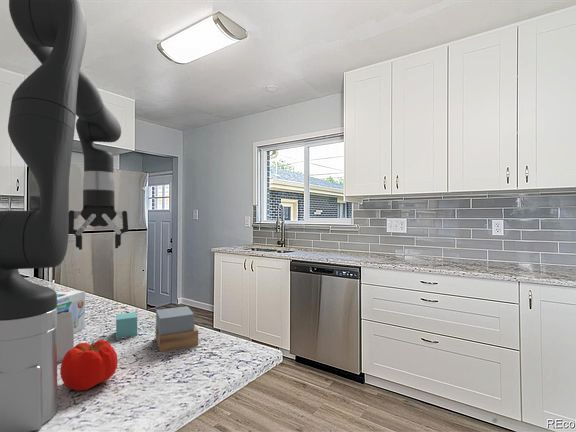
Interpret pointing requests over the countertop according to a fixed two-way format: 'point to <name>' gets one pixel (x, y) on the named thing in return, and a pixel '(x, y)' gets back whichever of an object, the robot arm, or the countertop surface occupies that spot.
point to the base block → (177, 340)
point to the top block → (174, 320)
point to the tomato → (88, 365)
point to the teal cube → (126, 325)
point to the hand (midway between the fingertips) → (99, 248)
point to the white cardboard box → (64, 334)
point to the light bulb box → (72, 307)
